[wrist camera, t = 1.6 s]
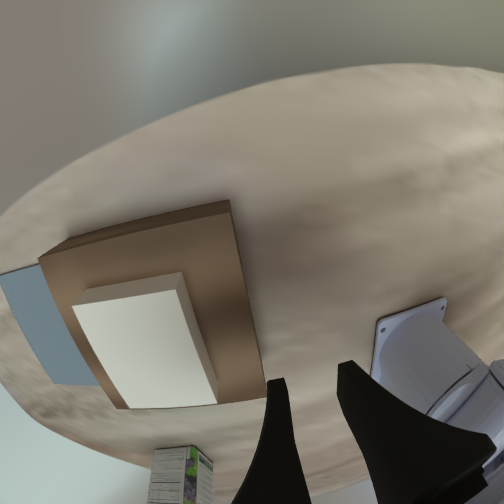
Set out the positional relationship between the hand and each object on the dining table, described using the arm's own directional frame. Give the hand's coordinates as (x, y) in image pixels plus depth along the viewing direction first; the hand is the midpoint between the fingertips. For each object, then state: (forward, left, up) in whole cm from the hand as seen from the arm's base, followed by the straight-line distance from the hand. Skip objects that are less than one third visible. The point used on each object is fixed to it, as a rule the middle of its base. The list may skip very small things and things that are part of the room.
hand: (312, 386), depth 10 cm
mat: (-1, +19, -9) cm, 21 cm away
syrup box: (-22, +14, -10) cm, 28 cm away
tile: (0, +8, -5) cm, 10 cm away
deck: (0, +8, -9) cm, 12 cm away
